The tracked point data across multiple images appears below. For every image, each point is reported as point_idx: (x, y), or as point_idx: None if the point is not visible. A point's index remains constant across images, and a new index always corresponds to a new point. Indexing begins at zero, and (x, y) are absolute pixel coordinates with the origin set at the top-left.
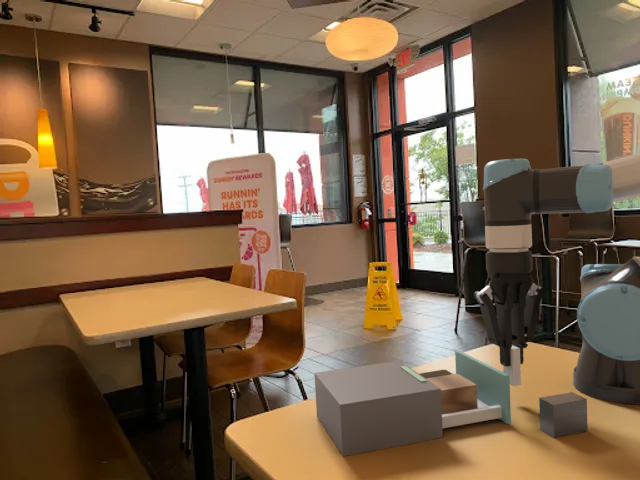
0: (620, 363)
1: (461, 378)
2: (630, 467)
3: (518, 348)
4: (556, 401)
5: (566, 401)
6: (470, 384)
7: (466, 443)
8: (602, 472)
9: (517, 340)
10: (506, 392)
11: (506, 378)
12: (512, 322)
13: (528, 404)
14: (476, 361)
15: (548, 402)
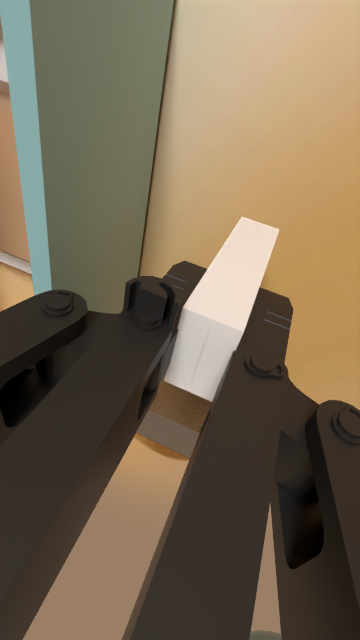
0: None
1: (10, 179)
2: (177, 457)
3: (204, 396)
4: (153, 433)
5: (170, 446)
6: (16, 247)
7: (18, 285)
8: (138, 437)
9: (203, 425)
10: None
11: None
12: (162, 542)
13: (282, 269)
14: (28, 227)
15: None
